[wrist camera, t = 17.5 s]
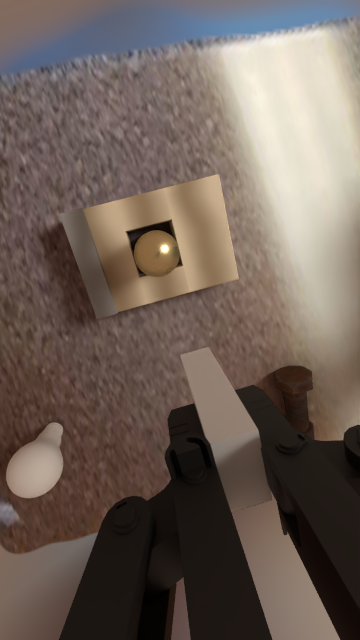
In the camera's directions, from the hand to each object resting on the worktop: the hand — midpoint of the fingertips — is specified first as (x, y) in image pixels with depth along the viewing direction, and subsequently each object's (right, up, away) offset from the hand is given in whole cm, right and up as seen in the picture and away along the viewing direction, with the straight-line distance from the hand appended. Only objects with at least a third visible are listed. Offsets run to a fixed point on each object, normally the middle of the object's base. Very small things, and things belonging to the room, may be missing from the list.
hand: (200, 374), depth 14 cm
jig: (-4, +12, +22) cm, 25 cm away
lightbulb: (-20, -13, +27) cm, 36 cm away
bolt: (+17, -11, +31) cm, 37 cm away
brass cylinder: (-5, +12, +22) cm, 25 cm away
